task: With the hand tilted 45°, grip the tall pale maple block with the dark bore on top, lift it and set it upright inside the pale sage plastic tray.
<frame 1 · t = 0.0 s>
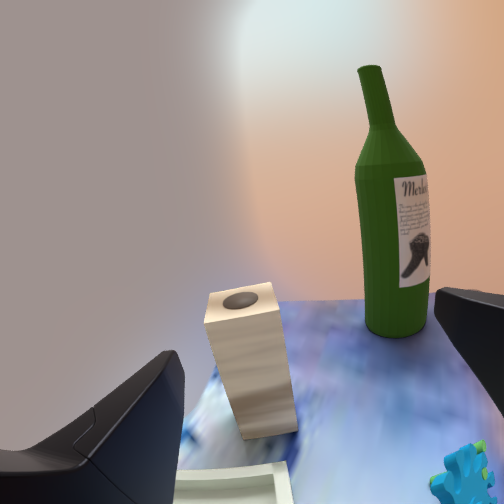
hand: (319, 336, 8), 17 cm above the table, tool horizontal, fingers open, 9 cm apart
maple block: (268, 417, 24), on the table
wine bottle: (395, 321, 35), on the table
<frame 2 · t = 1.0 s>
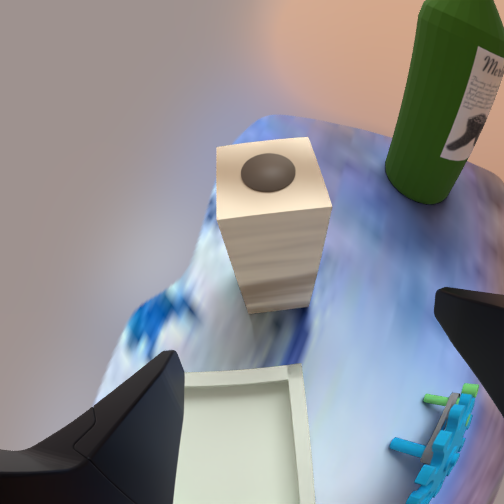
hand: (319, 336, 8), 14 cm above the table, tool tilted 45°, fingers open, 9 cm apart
maple block: (275, 283, 25), on the table
wine bottle: (417, 178, 29), on the table
sage tray: (228, 452, 18), on the table
gear: (424, 446, 16), on the table
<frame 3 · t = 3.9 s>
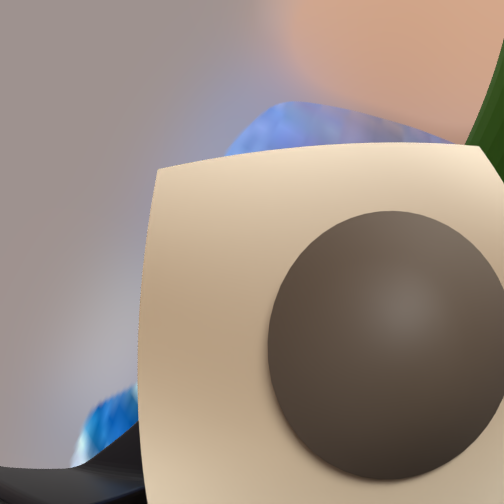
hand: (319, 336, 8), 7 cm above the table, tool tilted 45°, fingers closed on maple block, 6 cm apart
maple block: (308, 387, 13), on the table, touching gripper
wine bottle: (487, 200, 18), on the table
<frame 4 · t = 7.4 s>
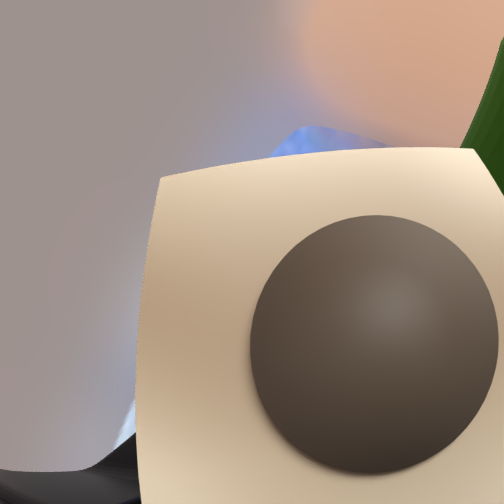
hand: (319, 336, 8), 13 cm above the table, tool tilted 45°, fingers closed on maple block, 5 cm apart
maple block: (315, 389, 13), point 6 cm above the table, touching gripper
wine bottle: (465, 215, 25), on the table
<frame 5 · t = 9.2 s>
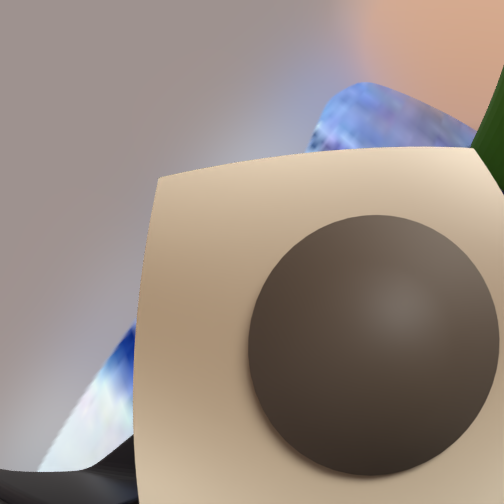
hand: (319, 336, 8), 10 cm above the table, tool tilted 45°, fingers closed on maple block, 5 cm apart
maple block: (315, 389, 13), point 3 cm above the table, touching gripper
wine bottle: (495, 167, 25), on the table
when the fingers open (9 cm above the table, at t = 10.5 s): maple block drops 1 cm, resting on sage tray.
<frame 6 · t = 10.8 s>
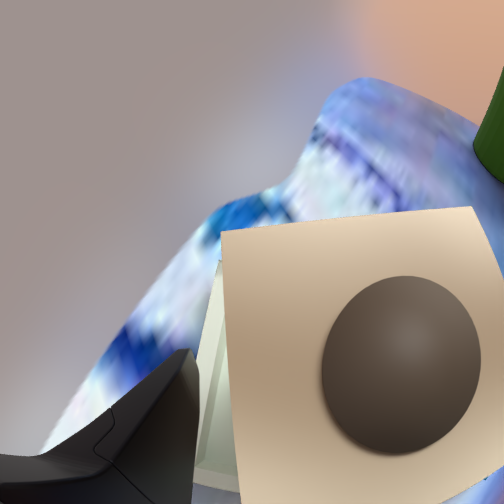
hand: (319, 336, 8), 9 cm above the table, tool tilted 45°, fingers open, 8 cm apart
maple block: (311, 391, 15), point 1 cm above the table, touching sage tray
wine bottle: (498, 163, 24), on the table
sage tray: (304, 388, 16), on the table
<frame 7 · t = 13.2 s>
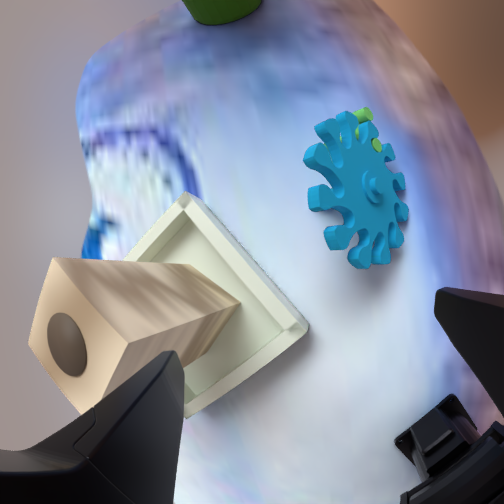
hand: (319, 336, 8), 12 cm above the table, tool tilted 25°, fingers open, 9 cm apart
maple block: (197, 308, 22), point 1 cm above the table, touching sage tray
wine bottle: (227, 5, 25), on the table
sage tray: (198, 308, 23), on the table
gear: (358, 195, 20), on the table
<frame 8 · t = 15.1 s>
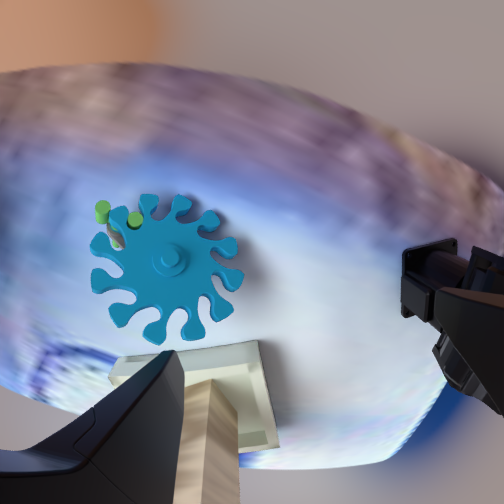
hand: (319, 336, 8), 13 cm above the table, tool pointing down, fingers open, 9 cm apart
maple block: (201, 403, 24), point 1 cm above the table, touching sage tray
sage tray: (201, 399, 25), on the table
gear: (173, 244, 21), on the table
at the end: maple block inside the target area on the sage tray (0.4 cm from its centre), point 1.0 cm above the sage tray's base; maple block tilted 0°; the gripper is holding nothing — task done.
